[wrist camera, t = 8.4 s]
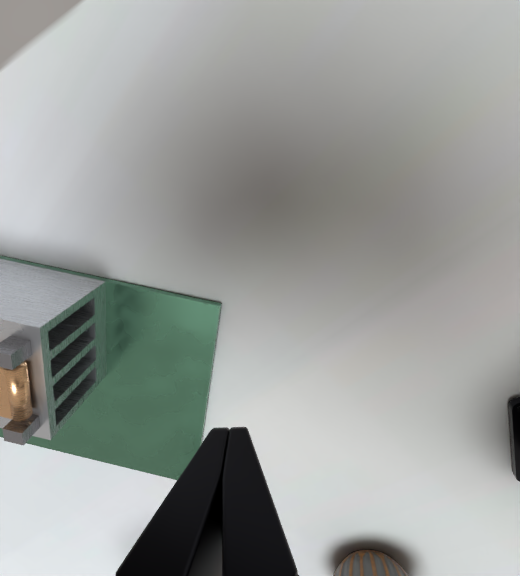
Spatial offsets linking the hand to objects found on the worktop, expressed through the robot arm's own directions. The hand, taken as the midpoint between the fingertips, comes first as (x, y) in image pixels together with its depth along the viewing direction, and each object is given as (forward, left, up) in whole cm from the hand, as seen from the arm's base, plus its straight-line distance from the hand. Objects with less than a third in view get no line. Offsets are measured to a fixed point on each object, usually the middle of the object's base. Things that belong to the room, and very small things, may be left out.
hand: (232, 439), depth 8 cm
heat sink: (-4, +15, -12) cm, 20 cm away
